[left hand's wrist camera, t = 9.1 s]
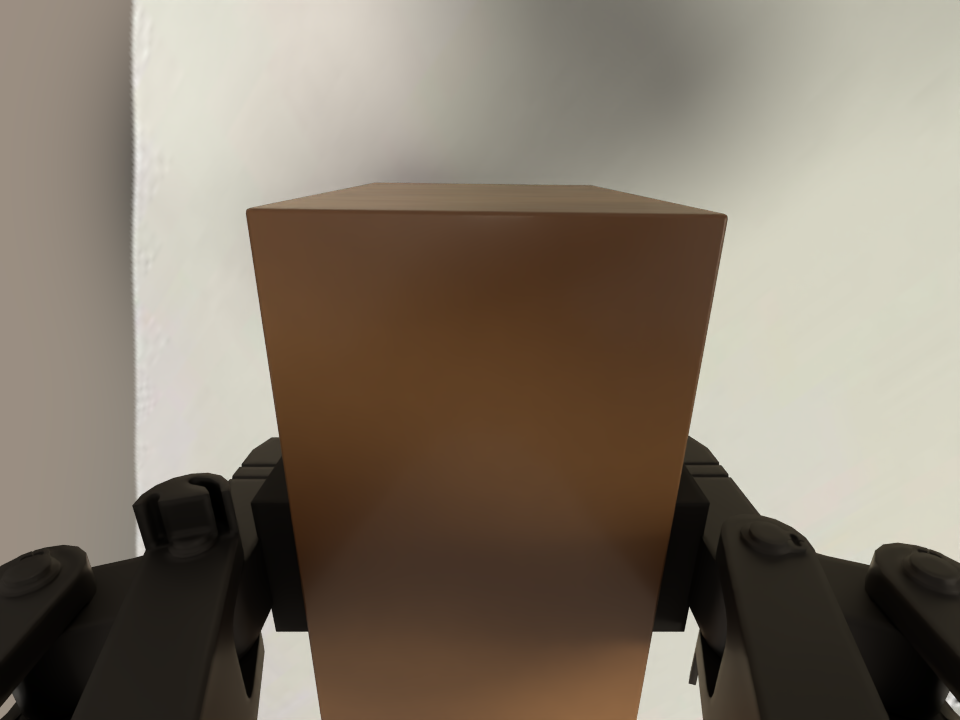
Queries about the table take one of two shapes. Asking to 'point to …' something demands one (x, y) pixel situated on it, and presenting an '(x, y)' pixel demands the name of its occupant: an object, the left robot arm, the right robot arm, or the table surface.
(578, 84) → the table surface
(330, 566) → the bar
